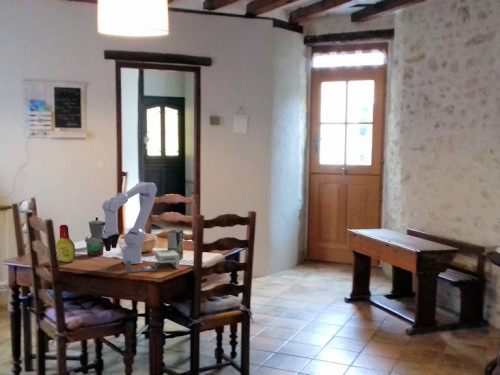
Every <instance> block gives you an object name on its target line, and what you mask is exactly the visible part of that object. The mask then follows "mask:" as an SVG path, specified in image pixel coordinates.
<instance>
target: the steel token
mask: <svg viewBox="0 0 500 375" xmlns="http://www.w3.org/2000/svg"><path fill="white" fill-rule="evenodd" d="M145 269H154V267H153V266H152V265H145V266H143V270H145Z"/></svg>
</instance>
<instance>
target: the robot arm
mask: <svg viewBox="0 0 500 375" xmlns="http://www.w3.org/2000/svg"><path fill="white" fill-rule="evenodd" d="M157 192H158V188H157V185H156V184H155V183H154V182H148V181H147V182H146V181H145V182H144V181H139V182H138V183H136V184H135V185H134V186H133V187H131V188H130V189H129V190H127V191H126V192H118V193H117V195H115V196H113V197H111V198H110V199H107V200H105V201H104V202H103V204H102V206H101V207H102V210H103V211H104V212H103V213H104V222H105V225H104V230H105V233H104V232H103V237H102V238H101V239H102V241H103V243H104V248H105V251H106V252H110V251H111V250H112V249H117V246H118V241H119V238H120V236H121V234H120V231H119V229H117V212H118V210H119V209H120V207H121V206H123V205H124V204H126V203H128V202H129V199H131V198H132V197H134V196H136V195H138V194H139V195H140V196H141V198H142V199H143V202H142V205H141V207H140V210H139V212H138V214H137V217H136V220H135V221H134V225H133V227H131V228H130V229H129V230H128V231H127V233H126V234H125V235H124V243H125V244H126V246H123V247H122V248H123V253H122V254H123V255H122V256H123V257H122V261H123V263H124V265H126V260H131V265H134V264H137V265H138V264H143V263H144V262H143V260H142V247H143V244H144V243H145V236H146V234H145V232H144V229H145V227H146V224H147V222H148V219H149V217H150V214H151V211H152V209H153V208H154V204H155V200H156V194H157Z"/></svg>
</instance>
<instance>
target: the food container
mask: <svg viewBox="0 0 500 375" xmlns="http://www.w3.org/2000/svg"><path fill="white" fill-rule="evenodd" d="M84 242H85V243H86V244H85V245H86V246H85V247H86V253H87V254H86V256H89V257H101V256H103V255H104V248H105V246H104V243H103V241H102V239H98V238H91V237H89V236H85V238H84Z"/></svg>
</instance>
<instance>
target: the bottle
mask: <svg viewBox="0 0 500 375" xmlns="http://www.w3.org/2000/svg"><path fill="white" fill-rule="evenodd" d="M69 232H70V231H69V227H68V225H67V224H61V225H60V226H59V239H58V241H57V242H56V245H55V251H56V250H57V254H56V257H57V256H58V261H59V262H60V261H61V262H64V263H71V262H73V261H75V259H76V245H75V244H74V242H73V240H71V238H70V234H69Z"/></svg>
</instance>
